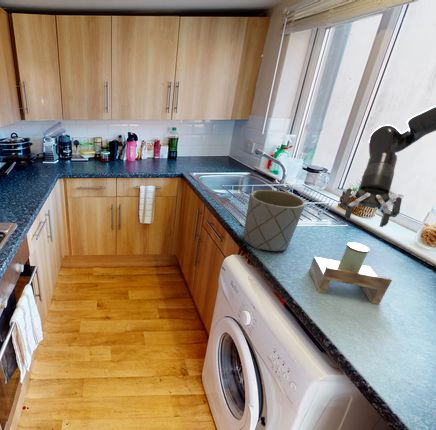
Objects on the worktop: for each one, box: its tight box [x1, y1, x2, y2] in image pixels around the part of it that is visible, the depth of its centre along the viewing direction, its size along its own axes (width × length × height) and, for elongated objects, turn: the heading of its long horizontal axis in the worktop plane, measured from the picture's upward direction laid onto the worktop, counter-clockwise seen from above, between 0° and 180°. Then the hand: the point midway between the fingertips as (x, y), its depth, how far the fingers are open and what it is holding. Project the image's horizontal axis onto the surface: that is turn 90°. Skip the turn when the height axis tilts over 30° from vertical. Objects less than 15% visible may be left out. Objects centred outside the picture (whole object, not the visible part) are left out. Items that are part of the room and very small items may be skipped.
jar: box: [338, 241, 371, 272], centre depth 89 cm, size 6×6×9 cm
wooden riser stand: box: [308, 256, 393, 305], centre depth 92 cm, size 16×12×9 cm
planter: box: [242, 189, 306, 252], centre depth 115 cm, size 19×19×20 cm
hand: (364, 222), depth 91 cm, fingers open, 8 cm apart
